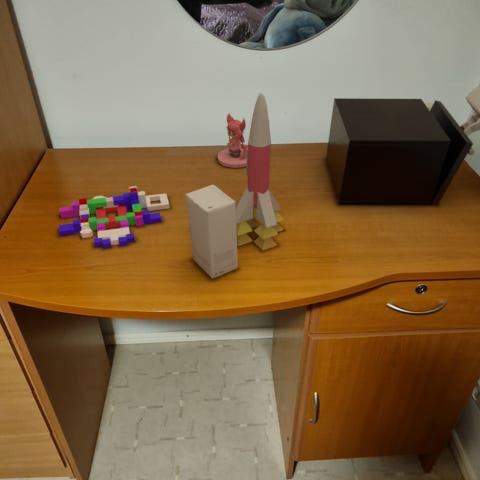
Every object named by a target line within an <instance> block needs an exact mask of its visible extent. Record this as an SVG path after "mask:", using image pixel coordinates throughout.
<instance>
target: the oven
mask: <svg viewBox="0 0 480 480" xmlns="http://www.w3.org/2000/svg"><path fill="white" fill-rule="evenodd" d="M425 103H426V102H424V101H423V99H422V98H348V97H347V98H345V97H344V98H343V97H342V98H340V97H339V98H337V97H336V98H333V105H332V112H331V120H330V127H329V135H328V140H327V141H328V142H327V148H326V156H325V159H326V163H327V167H328V171H329V174H330V177H331V182H332V186H333V190H334V194H335V196H336V200H337V204H338V206H431V200H432V197H433V194H434V191H435V188H436V185H437V182H438V178H439V175H440V172H441V169H442V166H443V163H444V160H445V157H446V154H447V151H448V147H449V144H450V141H451V140H450V139H449V138H448V136H447V135H446V133H445V132H444V130H443V129H442V128H441V126H440V125H439V123H438V122H437V121H436V119H435V118H434V116H433V115H432V113H431V112H430V111H429V109H428V108H427V106H426V105H425Z"/></svg>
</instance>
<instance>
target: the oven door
mask: <svg viewBox="0 0 480 480" xmlns="http://www.w3.org/2000/svg"><path fill="white" fill-rule="evenodd" d="M432 104H433V106H432V108H431V110H430V112H431V113H432V115H433V116H434V118H435V119H436V121H437V122H438V123H439V125H440V126H441V128H442V129H443V130H444V132H445V133H446V135H447V136H448V138H449V139H450V140H451V141H450V144H449V147H448V151H447V154H446V157H445V160H444V163H443V166H442V169H441V172H440V175H439V178H438V182H437V185H436V188H435V191H434V194H433V197H432V200H431V203H430V205H434V206H438V205H439V204H440V202H441V200H442V198H443V197H444V196H445V194H446V192H447V190H448V188H449V186H450V185H451V183H452V181H453V180H454V178H455V176H456V174H457V173H458V171H459V169H460V167H462V164H463V163H464V161H465V159H466V157H467V156H468V155H469V156H473V155H474V154H475V150H474V149H473V145H474V143H473V141H472V140H471V139H470V137H469V136H467V135H466V134H465V132H464V131H463V130H462V129H461V127H460V126H461V125H460V124H459V123H458V121H456V119H455V118H454V117H453V116H452V114H451V113H450V112H449V110H448V109H447V108H446V106H445V104H443V103H442V101H441V100H440V101H439V100H437V99H435V100H434V101H433V103H432Z"/></svg>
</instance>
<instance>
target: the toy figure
mask: <svg viewBox="0 0 480 480" xmlns="http://www.w3.org/2000/svg"><path fill="white" fill-rule="evenodd" d="M226 123H227V126H226V127H225V129H226V131H227V135H228V142H227V143H226V146H227V147H228V148H226V149H222V150H221V151H219V152H218V154H217V162H218V163H219V164H220V165H222V166H224V167H228V168H234V169H237V168H238V169H239V168H243V167H246V160H247V148H248V145H246V144H245V143H246V141H245V137H244V131H245V129H246V127H247V123H246V119H245V117H243V118H242V121H240V120H238V119H234V117H232V115H231V114H230V113H228V114H227V115H226Z"/></svg>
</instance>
